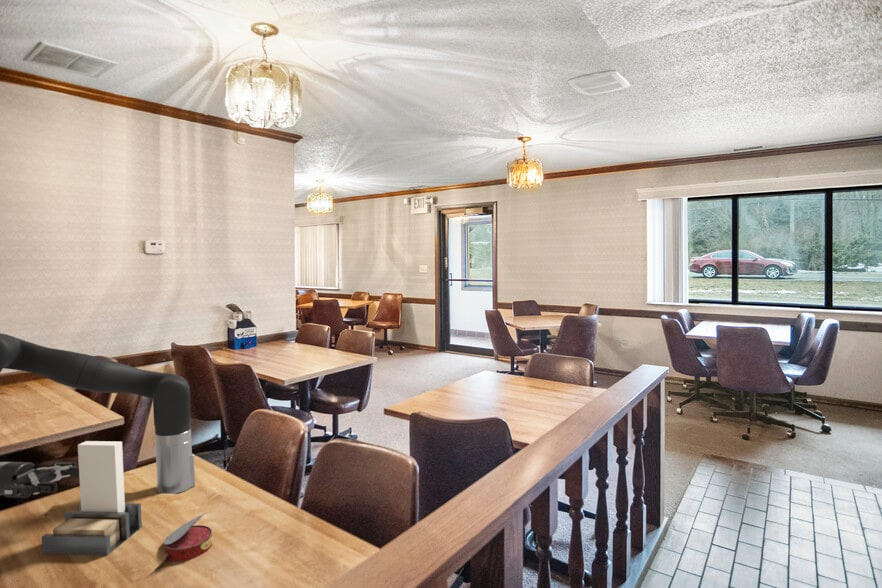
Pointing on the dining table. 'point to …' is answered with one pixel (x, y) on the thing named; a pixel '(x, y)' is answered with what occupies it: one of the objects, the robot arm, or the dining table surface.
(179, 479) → the robot arm
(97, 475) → the white rectangular board
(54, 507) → the shard
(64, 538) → the rack
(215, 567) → the dining table surface
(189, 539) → the canned food
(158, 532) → the dining table surface
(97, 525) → the offcut top
